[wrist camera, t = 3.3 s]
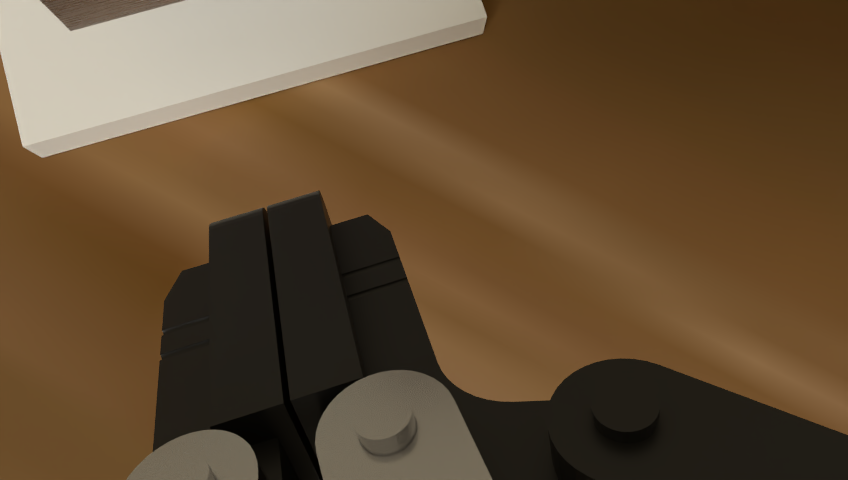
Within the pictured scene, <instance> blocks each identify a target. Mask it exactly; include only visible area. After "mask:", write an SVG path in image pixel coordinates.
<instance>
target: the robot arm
mask: <svg viewBox="0 0 848 480" xmlns="http://www.w3.org/2000/svg"><path fill="white" fill-rule="evenodd" d="M162 331H163V334H164V335H163V336H162V339H161V352H160V355H161V357H162V360H160V365H159V378H158V391H157V405H156V418H155V431H154V444H153V452H152V453H151V454H150V455H149V456H147V457H146V458H145V459H144V460H143V461H142V462H141V463H140V464H139V465H138V466H137V467H136V468H135V469H134V471H133V472H132V473H131V474H130V475H129V477H128V478H127V480H848V435H846V434H843V433H840V432H838V431H835V430H832V429H829V428H827V427H824V426H821V425H819V424H816V423H813V422H811V421H808V420H805V419H803V418H800V417H797V416H795V415H792V414H789V413H787V412H784V411H781V410H779V409H776V408H773V407H771V406H768V405H765V404H762V403H760V402H757V401H754V400H752V399H749V398H746V397H744V396H741V395H738V394H736V393H733V392H730V391H728V390H725V389H722V388H720V387H717V386H714V385H712V384H709V383H706V382H703V381H701V380H698V379H695V378H693V377H690V376H687V375H685V374H682V373H679V372H677V371H674V370H671V369H669V368H666V367H663V366H661V365H658V364H654V363H651V362H648V361H642V360H636V359H610V360H604V361H600V362H595V363H593V364H590V365H587V366H585V367H583V368H581V369H579V370H577V371H575V372H574V373H572V374H571V375H570V376H568V377H567V378H566V379H565V380H564V381H563V382H562V383H561V384H560V385H559V386H558V387H557V389H556V391H555V392H554V394H553V396H552V397H551V400H550V401H526V402H499V401H492V400H486V399H483V398H479V397H476V396H473V395H471V394H469V393H467V392H464V391H463V390H461V389H460V388H458V387H457V386H455V385H454V384H453V383H452V382H451V381H449V380H448V379H447V377H446V376H445V375H444V374H443V372H442V371H441V369H440V367H439V365H438V363H437V360H436V357H435V355H434V352H433V349H432V346H431V343H430V341H429V338H428V335H427V332H426V329H425V327H424V324H423V321H422V318H421V316H420V313H419V310H418V307H417V304H416V302H415V299H414V296H413V293H412V291H411V288H410V285H409V283H408V280H407V277H406V274H405V271H404V268H403V265H402V263H401V260H400V257H399V254H398V252H397V249H396V246H395V243H394V240H393V238H392V235H391V232H390V231H389V230H388V229H386V228H385V227H384V226H382V225H381V224H380V223H378V222H377V221H376V220H374V219H373V218H372V217H370V216H369V215H364V216H361V217H358V218H354V219H351V220H348V221H345V222H341V223H338V224H335V225H332V224H331V221H330V218H329V215H328V212H327V209H326V206H325V203H324V201H323V198H322V195H321V193H320V191H316V192H313V193H310V194H306V195H303V196H300V197H296V198H293V199H290V200H286V201H283V202H280V203H276V204H273V205H270V206H268V207H267V211H266V210H265V208H260V209H257V210H254V211H250V212H247V213H244V214H240V215H237V216H234V217H230V218H227V219H224V220H220V221H217V222H214V223H211V224H210V226H209V263H207V264H204V265H200V266H197V267H194V268H190V269H187V270H184V271H182V272H181V273H180V275H179V277H178V279H177V280H176V282H175V284H174V285H173V287H172V289H171V290H170V292H169V294H168V296H167V297H166V299H165V301H164V312H163V326H162Z"/></svg>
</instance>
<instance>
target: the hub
mask: <svg viewBox="0 0 848 480" xmlns="http://www.w3.org/2000/svg"><path fill="white" fill-rule="evenodd" d="M40 1H41V2H42V3H43V4H44V5H45V6H46V7H47V8H48V9H49V10H50V11H51V12H52V13H53V14H54V15H55V16H56V17H57V18H58V19H59V20H60V21H61V22H62V23H63V24H64V25H65V26H66V27H67V28H68V29H69V30H70V31H73V30H77V29H81V28H84V27H88V26H92V25H95V24H99V23H103V22H107V21H110V20H114V19H118V18H121V17H125V16H129V15H133V14H136V13H140V12H144V11H147V10H151V9H155V8H159V7H162V6H166V5H170V4H173V3H177V2H181V1H185V0H40Z"/></svg>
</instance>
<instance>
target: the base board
mask: <svg viewBox="0 0 848 480" xmlns="http://www.w3.org/2000/svg"><path fill="white" fill-rule="evenodd" d="M486 19H487V15H486V12H485V9H484V6H483V3H482V0H185V1H181V2H177V3H173V4H170V5H166V6H162V7H159V8H155V9H151V10H147V11H144V12H140V13H136V14H133V15H129V16H125V17H121V18H118V19H114V20H110V21H107V22H103V23H99V24H95V25H92V26H88V27H84V28H81V29H77V30H73V31H70V30H69V29H68V28H67V27H66V26H65V25H64V24H63V23H62V22H61V21H60V20H59V19H58V18H57V17H56V16H55V15H54V14H53V13H52V12H51V11H50V10H49V9H48V8H47V7H46V6H45V5H44V4H43V3H42V2H41V1H40V0H0V52H1V56H2V61H3V65H4V69H5V73H6V78H7V82H8V86H9V90H10V95H11V99H12V103H13V107H14V112H15V116H16V120H17V124H18V129H19V133H20V137H21V141H22V146H23V147H24V148H26V149H28V150H30V151H31V152H33V153H35V154H37V155H38V156H40V157H42V158H43V157H47V156H50V155H54V154H57V153H61V152H64V151H68V150H71V149H75V148H79V147H82V146H86V145H89V144H93V143H96V142H100V141H103V140H107V139H111V138H114V137H118V136H121V135H125V134H128V133H132V132H135V131H139V130H143V129H146V128H150V127H153V126H157V125H160V124H164V123H167V122H171V121H175V120H178V119H182V118H185V117H189V116H192V115H196V114H199V113H203V112H207V111H210V110H214V109H217V108H221V107H224V106H228V105H231V104H235V103H238V102H242V101H246V100H249V99H253V98H256V97H260V96H263V95H267V94H270V93H274V92H278V91H281V90H285V89H288V88H292V87H295V86H299V85H302V84H306V83H310V82H313V81H317V80H320V79H324V78H327V77H331V76H334V75H338V74H342V73H345V72H349V71H352V70H356V69H359V68H363V67H366V66H370V65H374V64H377V63H381V62H384V61H388V60H391V59H395V58H398V57H402V56H406V55H409V54H413V53H416V52H420V51H423V50H427V49H430V48H434V47H437V46H441V45H445V44H448V43H452V42H455V41H459V40H462V39H466V38H469V37H473V36H477V35H480V34H483V31H484V27H485V23H486Z"/></svg>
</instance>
